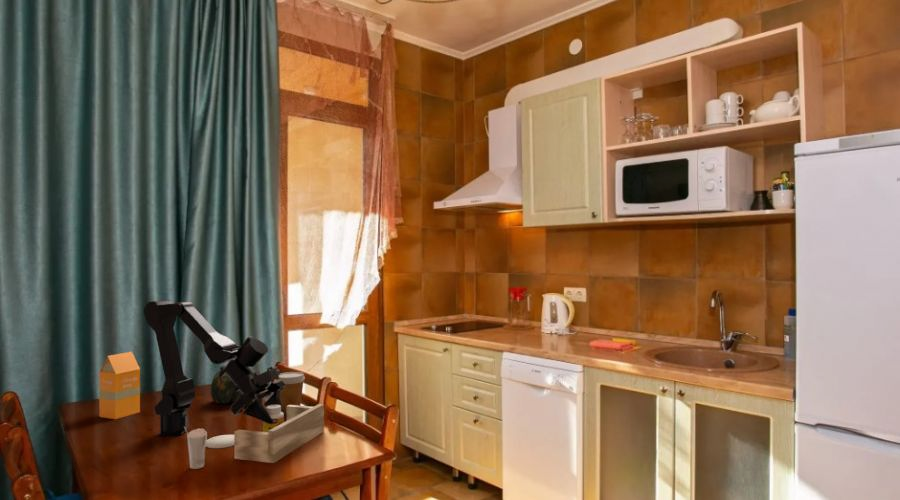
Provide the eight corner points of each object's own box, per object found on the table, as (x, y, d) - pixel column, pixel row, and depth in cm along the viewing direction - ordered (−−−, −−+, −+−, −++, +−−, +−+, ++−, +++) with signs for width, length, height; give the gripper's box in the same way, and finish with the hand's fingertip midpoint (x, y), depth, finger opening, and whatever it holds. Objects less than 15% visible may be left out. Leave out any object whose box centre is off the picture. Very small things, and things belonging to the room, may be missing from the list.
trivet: (199, 449, 148) (199, 447, 148) (210, 436, 158) (210, 435, 158) (238, 447, 150) (238, 445, 150) (246, 435, 159) (246, 433, 159)
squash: (195, 388, 193) (218, 358, 190) (227, 380, 207) (249, 352, 204) (217, 418, 189) (241, 388, 185) (249, 409, 202) (271, 380, 199)
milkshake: (187, 463, 138) (187, 423, 138) (209, 462, 139) (209, 423, 139) (180, 470, 134) (180, 429, 134) (203, 469, 134) (203, 428, 134)
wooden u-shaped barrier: (234, 458, 141) (234, 427, 141) (289, 427, 166) (289, 401, 166) (273, 463, 138) (273, 431, 138) (323, 431, 163) (323, 404, 163)
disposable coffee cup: (310, 407, 188) (310, 372, 188) (295, 415, 179) (295, 378, 179) (285, 405, 190) (285, 371, 190) (269, 413, 181) (269, 377, 181)
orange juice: (98, 416, 178) (99, 355, 178) (124, 409, 186) (124, 350, 186) (115, 419, 175) (115, 356, 175) (140, 411, 183) (140, 352, 183)
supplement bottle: (266, 448, 149) (266, 410, 149) (260, 442, 154) (260, 405, 154) (286, 444, 152) (286, 407, 152) (280, 438, 157) (280, 402, 157)
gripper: (239, 365, 145) (276, 410, 142) (280, 352, 163) (313, 392, 160) (214, 393, 147) (250, 437, 144) (257, 377, 165) (289, 417, 162)
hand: (277, 419), depth 152 cm, fingers closed on supplement bottle, 5 cm apart
